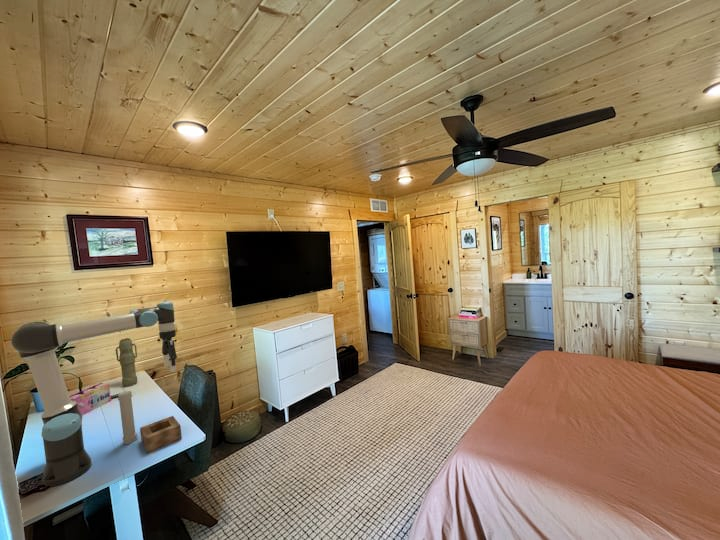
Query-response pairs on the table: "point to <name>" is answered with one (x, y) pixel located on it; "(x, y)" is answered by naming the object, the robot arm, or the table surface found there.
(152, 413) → the table surface
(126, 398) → the cream tapered cylinder
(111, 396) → the multiport hub
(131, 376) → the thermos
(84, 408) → the gum box
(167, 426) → the socket block
